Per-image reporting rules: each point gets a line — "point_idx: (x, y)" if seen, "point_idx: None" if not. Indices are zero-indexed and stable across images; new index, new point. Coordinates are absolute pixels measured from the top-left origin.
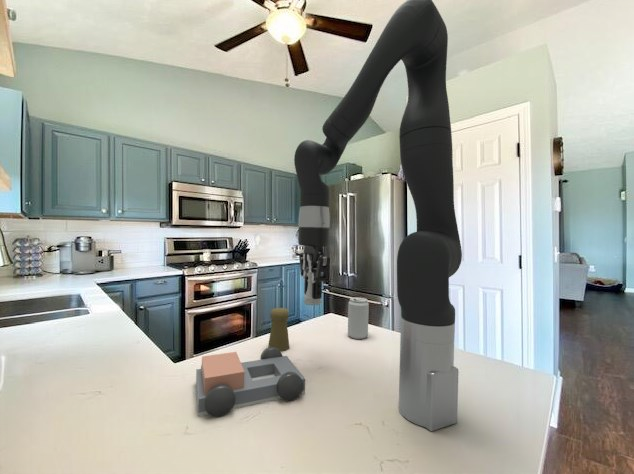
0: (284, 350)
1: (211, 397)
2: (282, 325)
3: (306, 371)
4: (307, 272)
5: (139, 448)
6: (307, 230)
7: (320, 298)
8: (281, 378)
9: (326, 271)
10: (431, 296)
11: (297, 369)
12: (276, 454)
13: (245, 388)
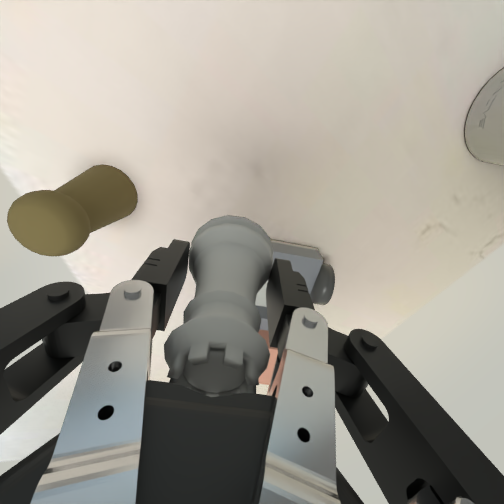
0: (135, 191)
1: None
2: (95, 215)
3: (255, 205)
4: (87, 337)
5: None
6: None
7: (269, 246)
8: (316, 303)
9: (429, 411)
10: None
11: (286, 254)
12: (382, 321)
13: None
